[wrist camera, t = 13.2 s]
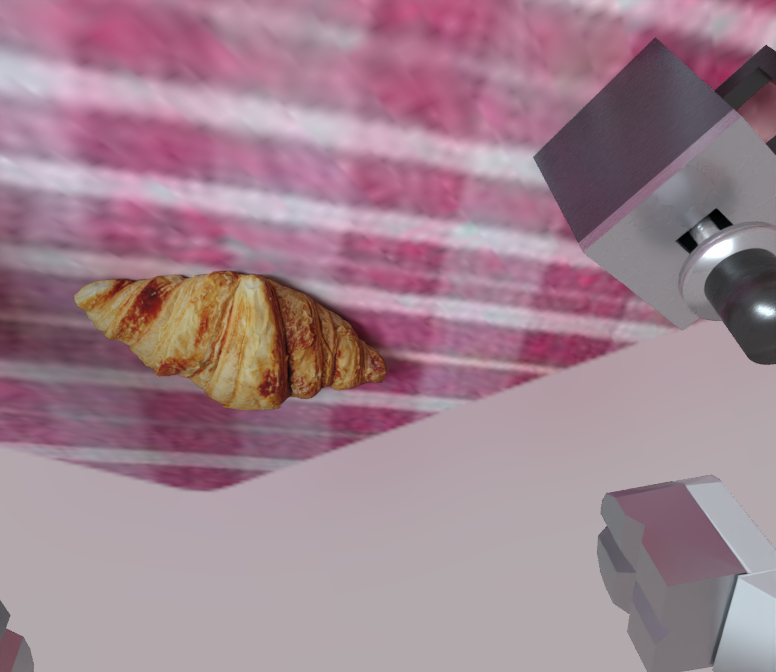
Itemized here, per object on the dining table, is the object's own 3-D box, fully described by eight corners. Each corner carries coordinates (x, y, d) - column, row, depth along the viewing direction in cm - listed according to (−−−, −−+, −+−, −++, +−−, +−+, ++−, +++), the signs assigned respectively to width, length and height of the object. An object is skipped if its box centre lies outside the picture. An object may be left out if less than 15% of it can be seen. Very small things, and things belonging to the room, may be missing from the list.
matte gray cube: (621, 232, 46) (682, 330, 39) (533, 157, 42) (583, 252, 35) (791, 88, 41) (901, 171, 33) (710, -17, 36) (816, 53, 29)
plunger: (639, 215, 43) (761, 394, 32) (587, 169, 40) (700, 346, 29) (711, 154, 41) (871, 325, 29) (661, 101, 38) (815, 265, 27)
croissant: (90, 282, 49) (59, 388, 46) (84, 215, 40) (45, 340, 37) (370, 345, 55) (358, 443, 52) (418, 299, 47) (407, 413, 44)
